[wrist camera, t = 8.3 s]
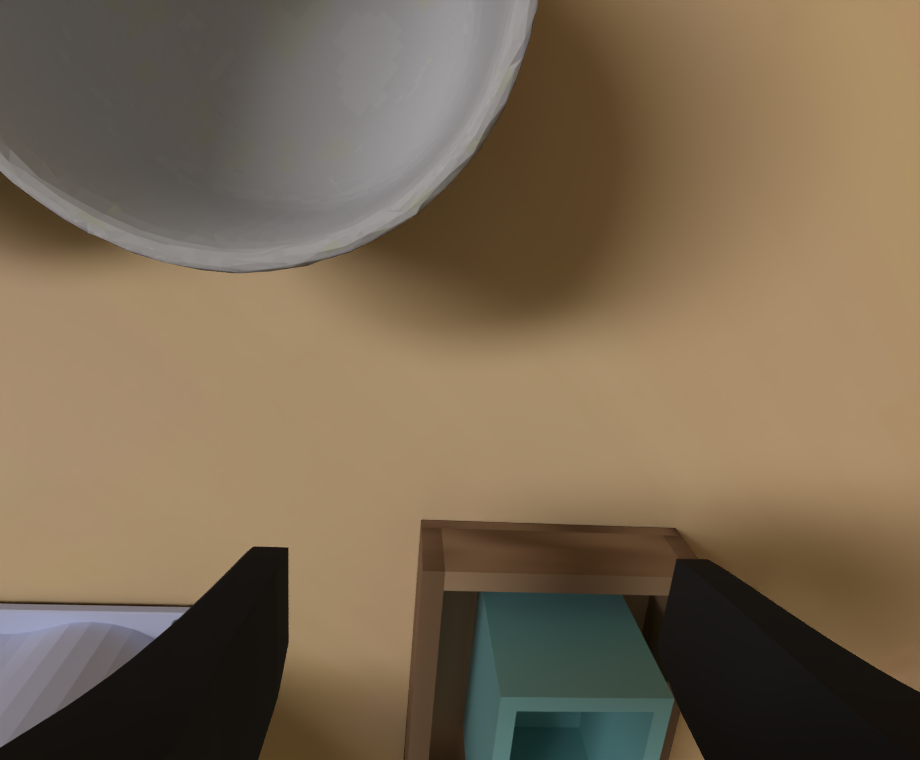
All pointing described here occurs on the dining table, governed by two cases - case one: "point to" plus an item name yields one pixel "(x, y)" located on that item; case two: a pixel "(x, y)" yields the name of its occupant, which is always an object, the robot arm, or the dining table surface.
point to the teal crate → (562, 681)
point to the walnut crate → (519, 570)
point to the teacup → (249, 117)
